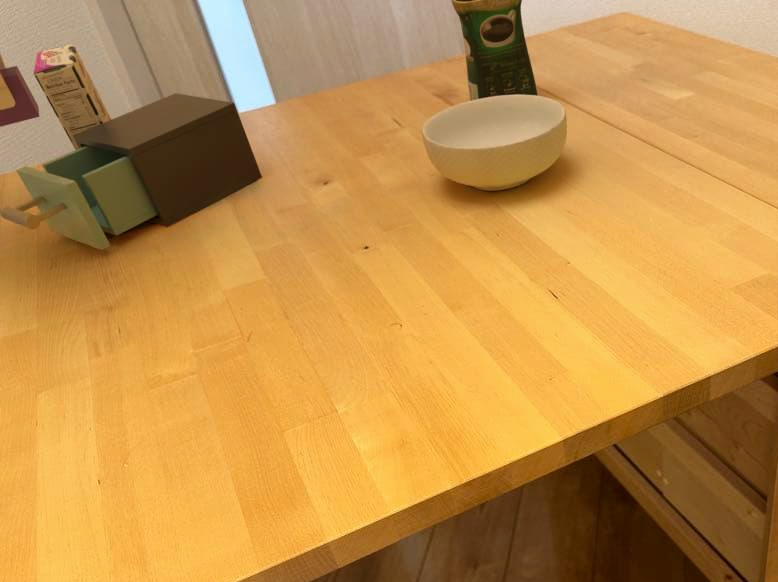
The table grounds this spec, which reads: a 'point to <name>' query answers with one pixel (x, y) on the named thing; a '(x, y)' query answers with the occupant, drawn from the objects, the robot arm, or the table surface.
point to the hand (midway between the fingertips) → (7, 99)
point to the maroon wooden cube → (18, 99)
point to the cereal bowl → (496, 140)
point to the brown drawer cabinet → (181, 152)
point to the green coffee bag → (495, 48)
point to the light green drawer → (84, 196)
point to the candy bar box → (69, 90)
